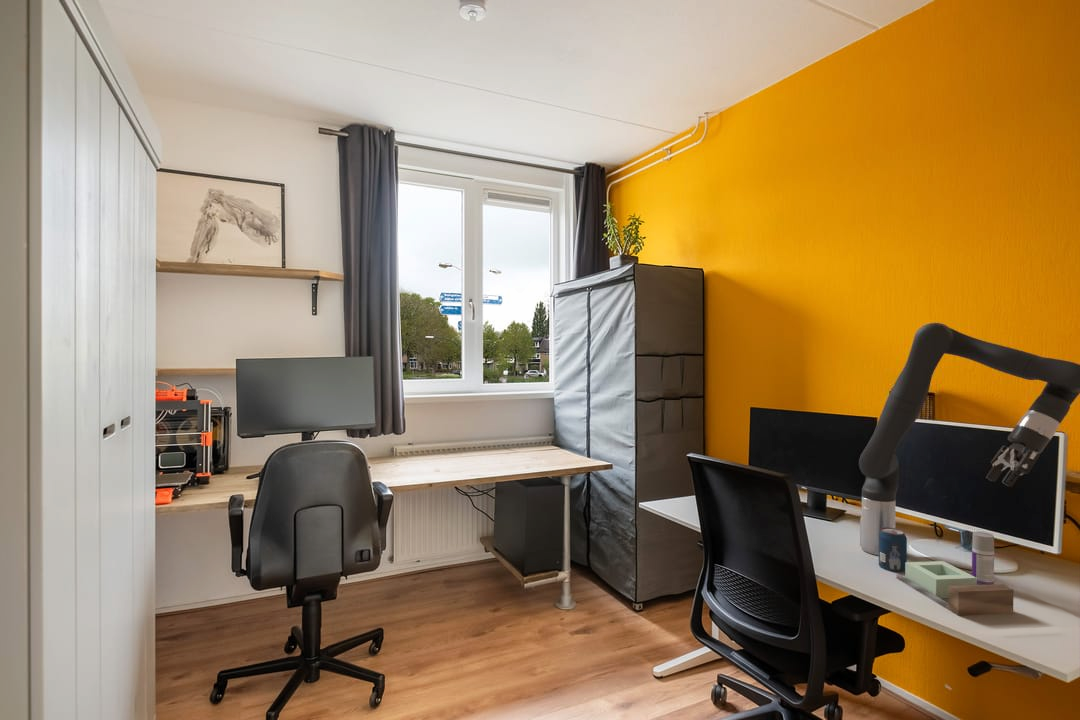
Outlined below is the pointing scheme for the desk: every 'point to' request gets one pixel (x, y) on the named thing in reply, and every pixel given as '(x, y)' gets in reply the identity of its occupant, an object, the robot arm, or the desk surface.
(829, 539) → the desk surface
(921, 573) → the socket block
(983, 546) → the container
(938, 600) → the walnut track
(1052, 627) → the desk surface
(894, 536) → the soda can
